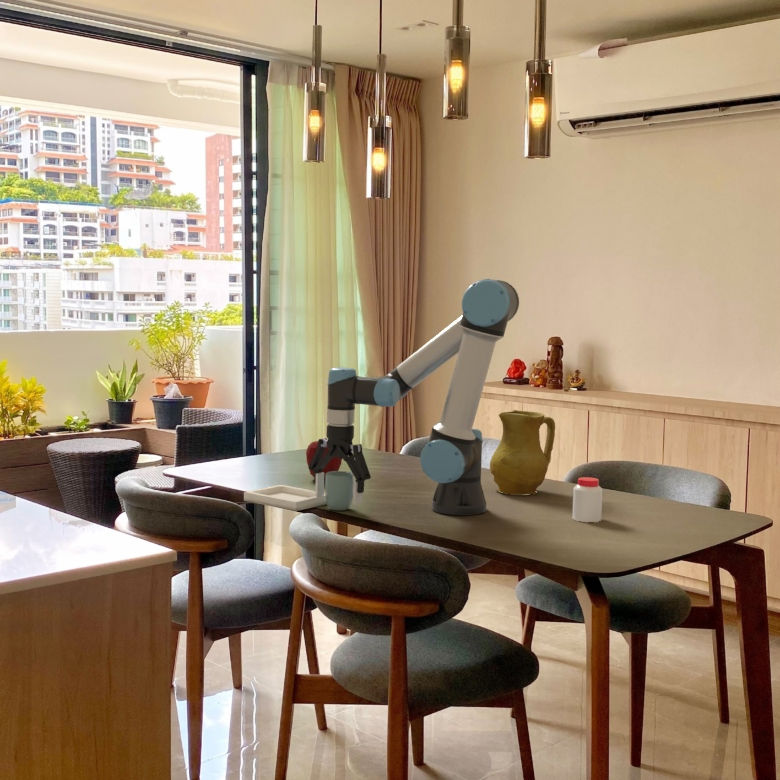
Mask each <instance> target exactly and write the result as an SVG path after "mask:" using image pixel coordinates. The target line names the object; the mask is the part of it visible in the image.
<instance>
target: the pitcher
mask: <svg viewBox="0 0 780 780" xmlns="http://www.w3.org/2000/svg"><path fill="white" fill-rule="evenodd" d="M498 417H499V418H500V421H501V424H502V435H501V438H500V442H499V444H498V445H497V447H496V448H495V450H494V452H493V454H492V456H491V459H490V462H489V471H490V473H491V475H493V482H495V484H496V485H497V486H498V489H497V490H498V491H500V492H503V493H507V494H506V495H508V494H533V493H536V492H535V491H537V489H538V488H539V487H540V486H541V485H542V484H543V482H544V481H545V478H546V474H547V472H548V469H549V464H550V463H551V460H552V451H553V449H554V443H555V442H554V441H555V436H556V435H555V434H556V433H555V431H556V422H555V420H554V418H552V417H550V416H545V414H544V413H542V412H537V411H529V410H518V409H513V410H511V411H503V412H500V413H499V414H498ZM543 424H545V425H546V438H545V444H544V450H543V449H542V447H541V440H540V438H541V437H540V429H541V426H543ZM536 494H537V493H536ZM533 495H534V494H533Z"/></svg>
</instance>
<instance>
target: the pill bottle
mask: <svg viewBox="0 0 780 780" xmlns="http://www.w3.org/2000/svg"><path fill="white" fill-rule="evenodd" d="M599 484H600V481H599V478H595V477H589V476H587V477H584V476H583V477H578V479H577V484H576V485H575V486H574V487H573V488H572V489H573V490H572V491H573V493H572V514H571V515H572V516H571V518H572V520H573V519H574V521H575V520H576V522H579V521H581V522H580V523H588V522H594V523H600V522H601V521H602V511H603V491H604V489H603V488H602V487H601V486H600V485H599ZM599 521H600V522H599Z"/></svg>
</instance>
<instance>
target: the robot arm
mask: <svg viewBox="0 0 780 780" xmlns="http://www.w3.org/2000/svg"><path fill="white" fill-rule="evenodd" d="M519 306H520V297H519V293H518V291H517V290H516V288H515V287H514V286H513V285H512V284H510V283H509V282H508V281H504V280H499V279H497V280H496V279H490V278H485V279H480V280H478V281H475V282H473V283H472V284H471V285H469V287H468V288H466V290H465V292H464V293H463V295H462V300H461V309H462V315H460V316H458V318H457V319H456V320H454V321H453V322H452V323H451V324H449V325H448V326H446V327H445V328H444V329H442V331H440V332H439V333H438V334H436V335H435V336H434V337H433V338H431V339H430V340H429V341H428V342H426V343H425V344H424V345H423V346H421V347H420V348H419V349H417V350H416V351H414V352H413V354H411V355H409V356H408V357H407V358H406V359H404V361H402V362H401V363H399V364H398V365H397V366H396V367H394V368H392V370H391V371H389V372H388V373H387V374H386V375H383V376H376V377H371V376H370V377H369V376H358V375H357V370H356V369H355V368H352V367H351V368H350V367H332V368H331V369H330V370H329V372H328V380H327V407H326V411H327V412H326V423H327V425H326V433H325V434H326V435H325V436H326V437H324V438H319V439H318V440H317V441H318V447H317V449H316V451H315V453H314V456H313V458H312V460H311V462H310V464H309V467H308V466H307V467H308V470H312V471H313V472H314V477H313V479H314V480H313V483H314V485H315V489H314V491H315V497H319V496H324V493H325V480H324V473H323V472H322V470H323V469H324V468H325V466H326V465H327V464H328V463H329V461H330V460H331V459H332V458H333V457H334V458H336V457H337V458H339V459H342V461H344V462H346V464H347V466H348V468H349V469H350V472H352V473H353V475H354V479H355V480H354V491H353V500H352V505H353V506H358V505H362V501H363V499H362V498H363V493H364V491H365V481H367V480H370V479H371V478H372V476H371V473H370V470H369V467H368V465H367V464H368V463H367V462H366V459H365V456H364V453H363V445H362V444H361V443H359V444H353V439H354V437H355V426H354V425H353V424H354V423H355V413H356V412H355V409H356V405H363V406H364V405H368V406H376V407H380V408H385V407H389V408H390V407H395V406H396V405H397V403H398V401H400V400H402V399H403V398H405V397H406V396H407V395H408V393H409V392H410V391H411V390H412V389H414V388H415V387H416V386H417V385H419V384H420V383H421V382H423V381H424V380H426V379H427V378H428V377H429V376H430V375H432V374H434V373H435V372H436V371H437V370H438V369H439V368H441V367H442V366H444V365H445V364H446V363H448V362H449V361H450V360H451V359H453V358H455V356H457V358H456V362H455V364H454V369H453V373H452V376H451V380H450V383H449V387H448V390H447V393H446V394H447V395H446V398H445V402H444V406H443V410H442V412H441V413H442V414H441V417H440V420H439V421H438V422H437V423H435V424H433V426H432V428H431V433H430V436H429V440H428V441H427V443H426V444H425V446H424V447H423V449H422V450H421V452H420V459H419V461H420V466H421V470H422V471H423V473H424V475H426V477H428V479H430V480H432V481H434V482H436V483H437V485H436V488H435V491H434V494H433V496H432V497H433V498H432V501H431V509H432V511H434V512H436V513H439V514H443V515H452V516H475V515H480V514H484V513H486V512H487V501H486V497H485V494H484V490H483V487H482V483H481V482H482V481H481V480H482V477H481V475H482V458H483V457H482V453H483V451H482V450H483V449H482V448H483V442H484V441H483V433H482V431H481V429H477V428H473V426H474V422H475V419H476V415H477V412H478V408H479V405H480V401H481V397H482V393H483V391H484V386H485V383H486V379H487V375H488V372H489V369H490V364H491V361H492V357H493V355H494V354H493V353H494V350H495V346H496V344H497V342H498V341H499V340H501V339H503V338H504V335H505V333H506V329H507V325H508V322H510V321H511V320H513V318H514V317H515V316H516V315H517V313H518V311H519ZM326 447H328V450H327V452H326V453H325V455H324V457H323V458H322V456H323V454H324V452H325V449H326ZM321 458H322V459H321ZM321 472H322V473H321Z"/></svg>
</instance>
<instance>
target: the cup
mask: <svg viewBox="0 0 780 780" xmlns="http://www.w3.org/2000/svg"><path fill="white" fill-rule="evenodd" d="M354 481H355V477H354V475H353V473H352V471H344V470H343V471H342V470H338V471H331V472H327V473H326V476H325V480H324V493H325V496H326V503H327V504H326V505H327V507H328V508H329V509H330V510H332V511H339V512H341V511H346V510H349V508H350V507H351V506H352V505H353V494H354Z"/></svg>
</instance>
